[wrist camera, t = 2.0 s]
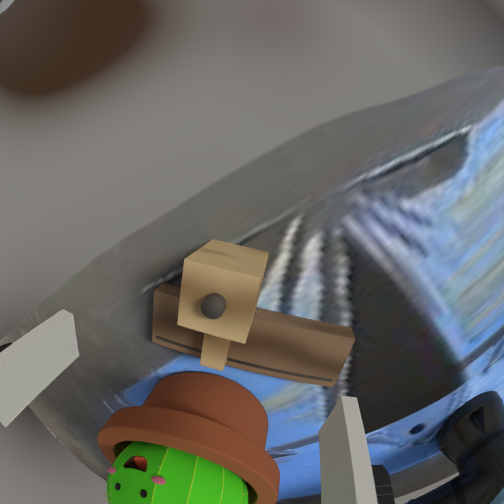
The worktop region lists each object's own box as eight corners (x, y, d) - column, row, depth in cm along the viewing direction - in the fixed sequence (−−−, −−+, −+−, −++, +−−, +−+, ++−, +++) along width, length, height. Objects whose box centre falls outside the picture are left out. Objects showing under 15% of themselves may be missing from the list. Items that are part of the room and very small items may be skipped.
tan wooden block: (246, 350, 31) (230, 401, 22) (198, 337, 31) (170, 383, 23) (269, 252, 28) (258, 282, 19) (212, 239, 28) (179, 262, 20)
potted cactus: (301, 444, 34) (291, 580, 10) (184, 452, 39) (139, 554, 15) (251, 339, 30) (185, 554, 6) (118, 364, 35) (21, 474, 11)
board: (331, 374, 30) (333, 387, 28) (160, 332, 32) (152, 342, 30) (351, 327, 28) (355, 339, 26) (164, 282, 30) (154, 290, 28)
